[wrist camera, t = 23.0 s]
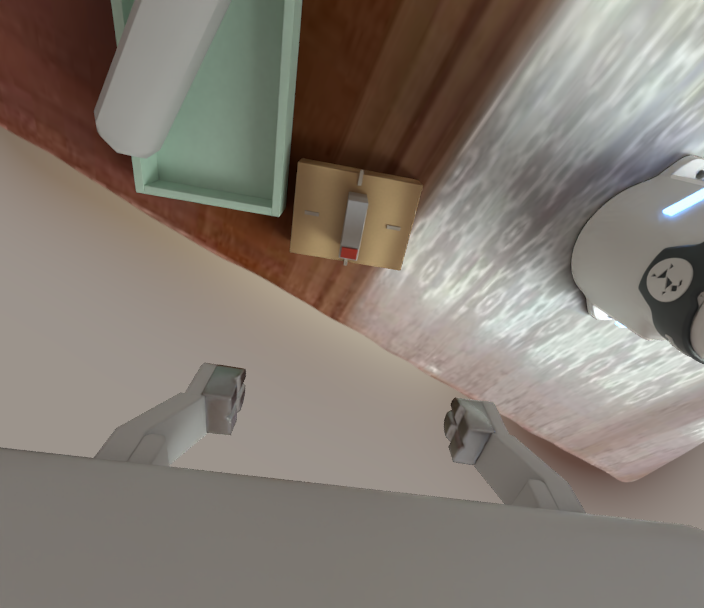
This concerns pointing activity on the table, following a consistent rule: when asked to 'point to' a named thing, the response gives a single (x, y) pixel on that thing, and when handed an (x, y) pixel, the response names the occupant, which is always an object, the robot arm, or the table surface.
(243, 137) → the green tray
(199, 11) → the tube
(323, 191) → the panel
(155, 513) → the robot arm
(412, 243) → the table surface
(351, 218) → the tap knob
